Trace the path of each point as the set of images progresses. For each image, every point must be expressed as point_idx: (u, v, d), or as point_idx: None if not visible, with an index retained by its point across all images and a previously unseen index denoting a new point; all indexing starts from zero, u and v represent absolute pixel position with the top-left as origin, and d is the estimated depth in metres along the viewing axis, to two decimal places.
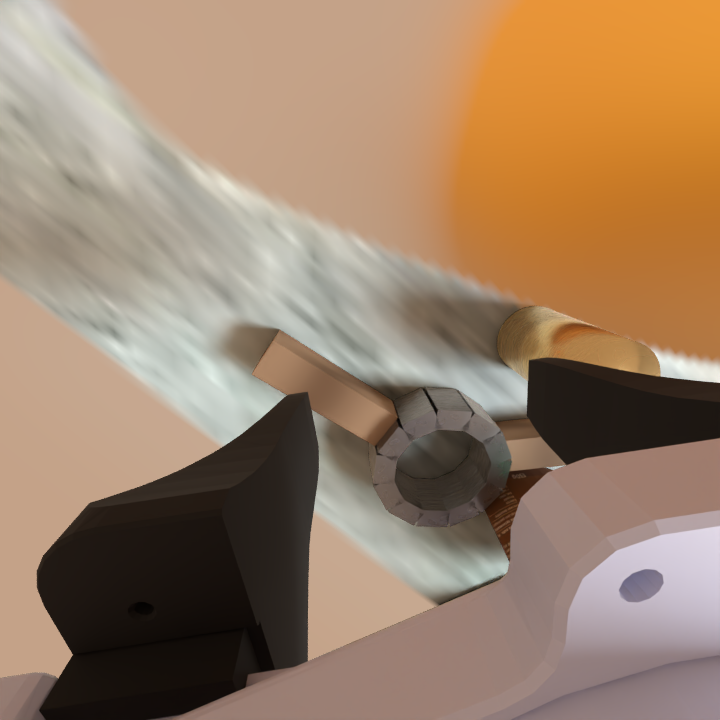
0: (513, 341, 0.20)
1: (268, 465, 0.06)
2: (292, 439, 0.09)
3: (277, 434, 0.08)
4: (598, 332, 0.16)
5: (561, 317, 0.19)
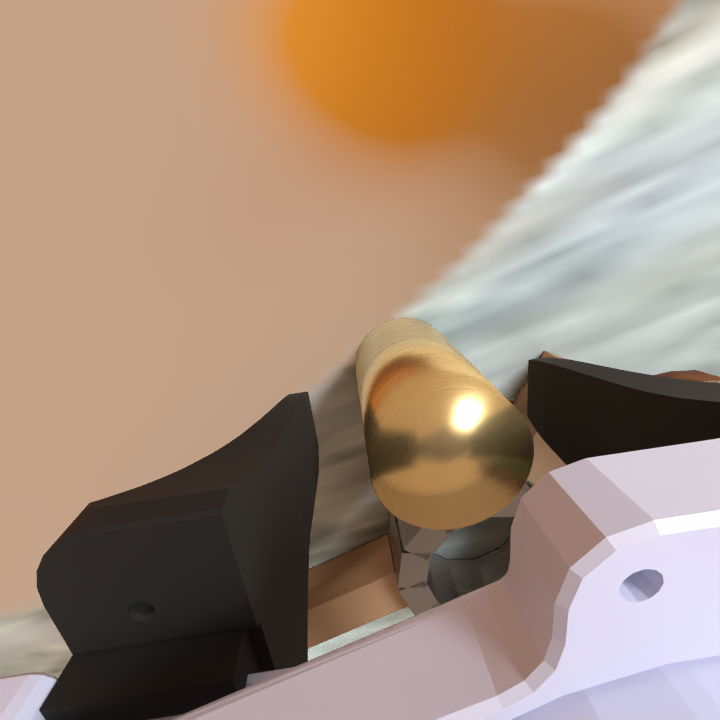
0: None
1: (268, 465, 0.06)
2: (292, 439, 0.09)
3: (277, 434, 0.08)
4: (371, 413, 0.10)
5: (364, 373, 0.12)
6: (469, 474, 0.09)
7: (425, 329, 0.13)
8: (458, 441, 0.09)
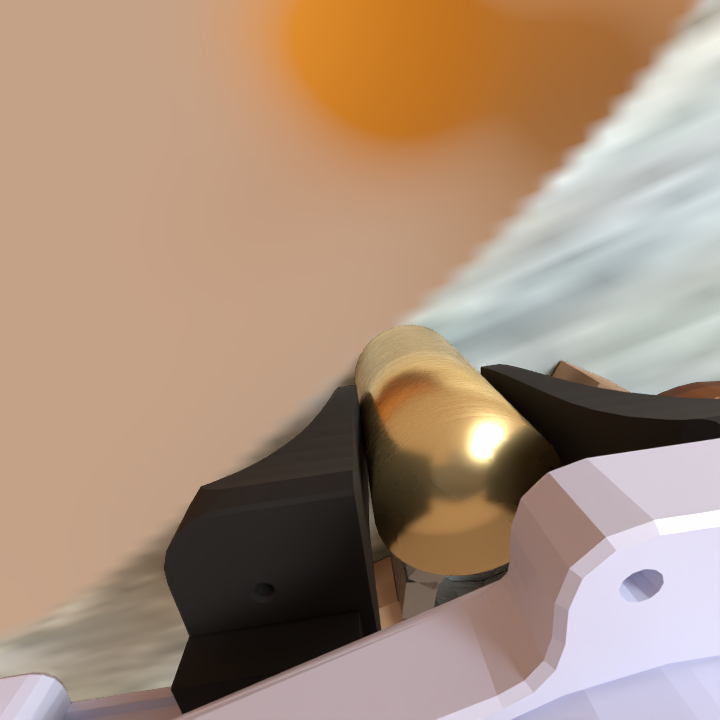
0: None
1: (354, 452, 0.06)
2: (356, 430, 0.09)
3: (348, 424, 0.08)
4: (374, 440, 0.08)
5: (365, 389, 0.11)
6: (489, 514, 0.08)
7: (433, 339, 0.12)
8: (477, 477, 0.07)
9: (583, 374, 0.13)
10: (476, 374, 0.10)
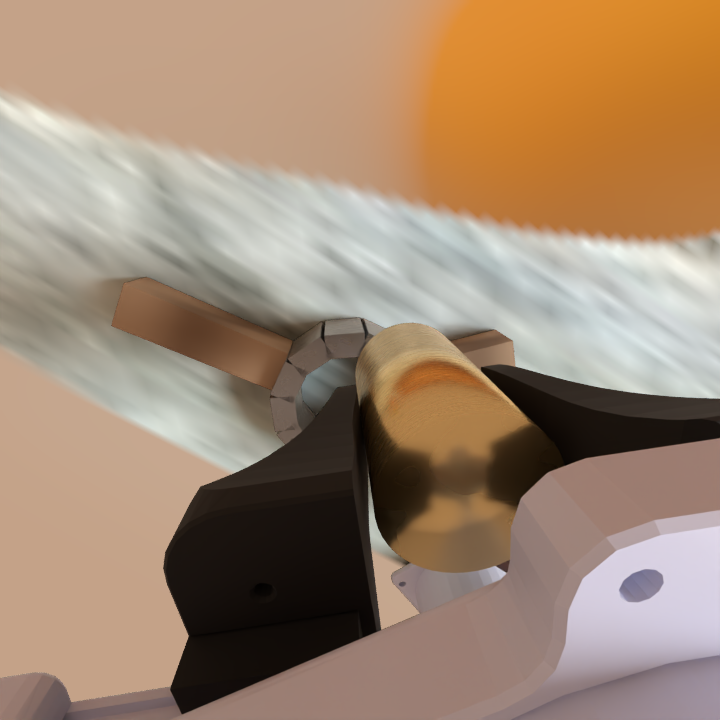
0: None
1: (354, 452, 0.06)
2: (355, 430, 0.09)
3: (347, 424, 0.08)
4: (376, 435, 0.08)
5: (366, 384, 0.11)
6: (490, 511, 0.08)
7: (435, 337, 0.12)
8: (479, 474, 0.07)
9: (505, 336, 0.20)
10: (479, 372, 0.10)
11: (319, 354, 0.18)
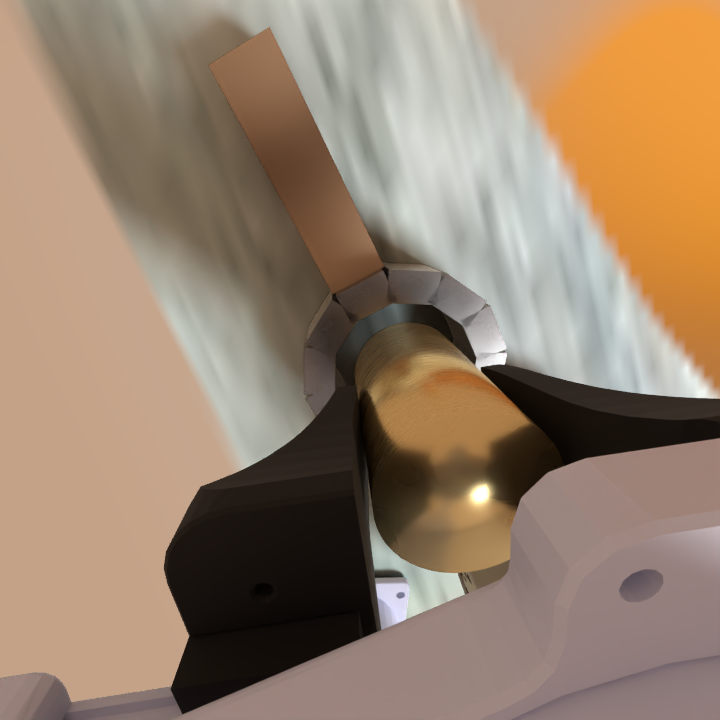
0: None
1: (354, 452, 0.06)
2: (355, 430, 0.09)
3: (348, 424, 0.08)
4: (375, 433, 0.08)
5: (366, 383, 0.11)
6: (488, 511, 0.08)
7: (435, 336, 0.12)
8: (478, 473, 0.07)
9: None
10: (479, 372, 0.10)
11: (424, 290, 0.13)
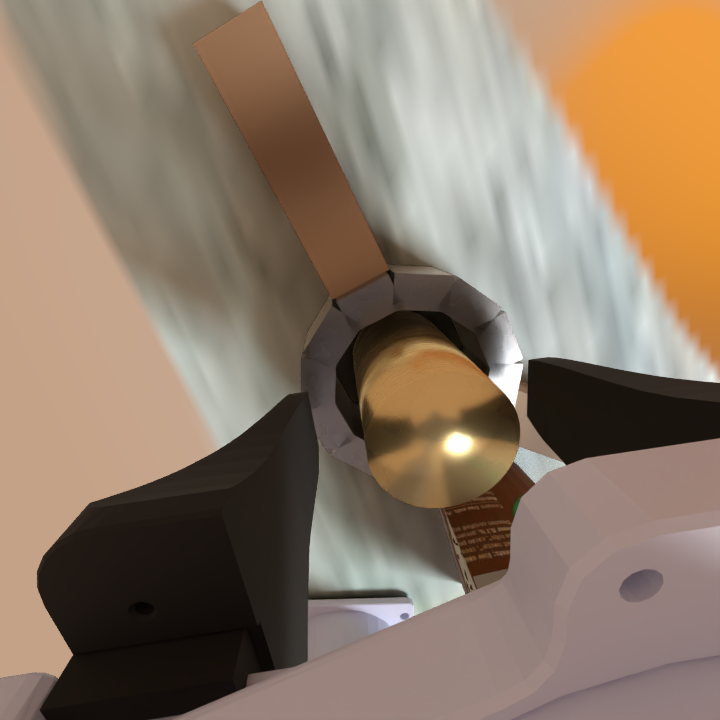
0: None
1: (268, 465, 0.06)
2: (292, 439, 0.09)
3: (277, 434, 0.08)
4: (369, 396, 0.10)
5: (362, 361, 0.13)
6: (459, 455, 0.10)
7: (422, 322, 0.14)
8: (450, 423, 0.09)
9: None
10: (456, 348, 0.11)
11: (434, 295, 0.12)
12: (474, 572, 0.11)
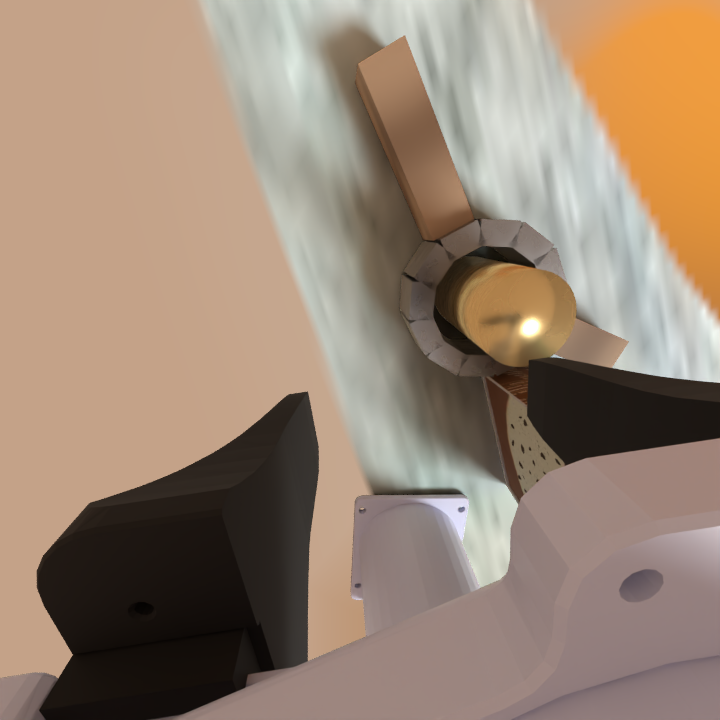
0: (452, 324, 0.20)
1: (268, 465, 0.06)
2: (292, 439, 0.09)
3: (277, 434, 0.08)
4: (473, 294, 0.16)
5: (453, 284, 0.18)
6: (536, 328, 0.15)
7: (492, 260, 0.19)
8: (532, 304, 0.15)
9: None
10: None
11: (507, 235, 0.17)
12: None
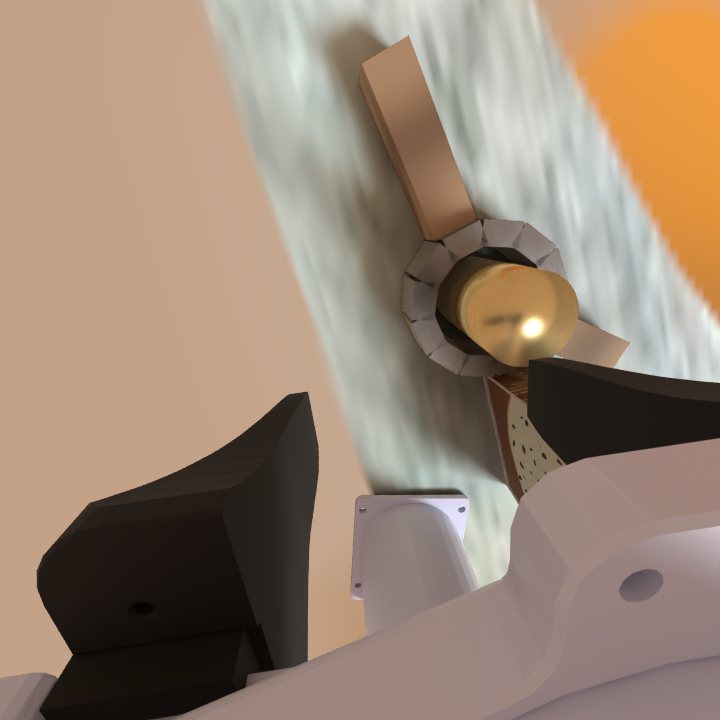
0: None
1: (268, 465, 0.06)
2: (292, 439, 0.09)
3: (277, 434, 0.08)
4: (476, 294, 0.16)
5: (455, 284, 0.18)
6: (538, 328, 0.15)
7: None
8: (534, 304, 0.15)
9: None
10: None
11: (509, 236, 0.18)
12: None
